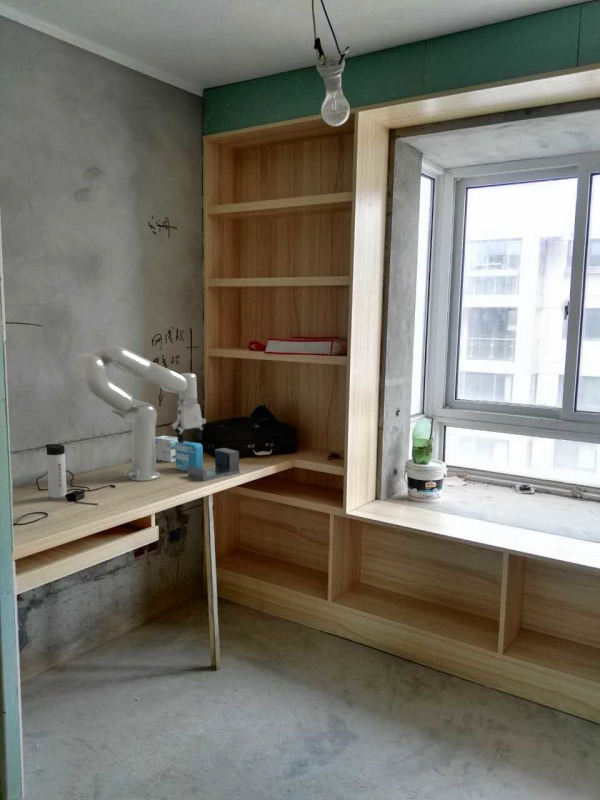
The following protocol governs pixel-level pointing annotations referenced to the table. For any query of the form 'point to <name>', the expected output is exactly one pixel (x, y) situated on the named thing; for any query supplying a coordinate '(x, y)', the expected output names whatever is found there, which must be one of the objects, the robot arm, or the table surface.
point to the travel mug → (56, 471)
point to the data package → (188, 455)
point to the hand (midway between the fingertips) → (190, 440)
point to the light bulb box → (165, 448)
